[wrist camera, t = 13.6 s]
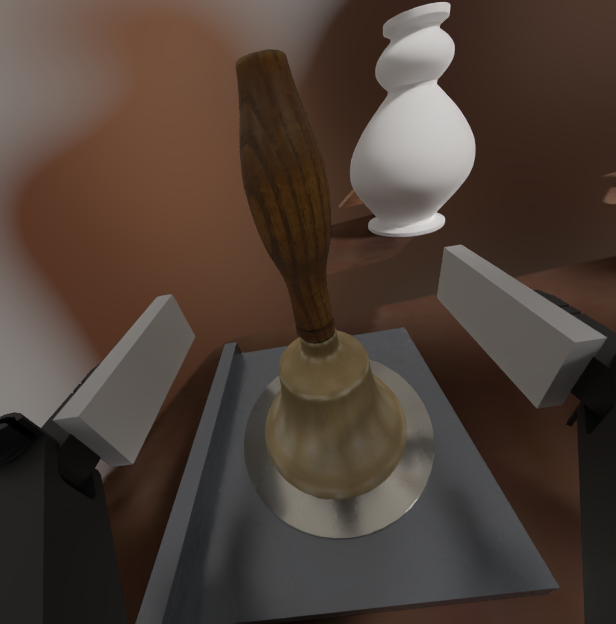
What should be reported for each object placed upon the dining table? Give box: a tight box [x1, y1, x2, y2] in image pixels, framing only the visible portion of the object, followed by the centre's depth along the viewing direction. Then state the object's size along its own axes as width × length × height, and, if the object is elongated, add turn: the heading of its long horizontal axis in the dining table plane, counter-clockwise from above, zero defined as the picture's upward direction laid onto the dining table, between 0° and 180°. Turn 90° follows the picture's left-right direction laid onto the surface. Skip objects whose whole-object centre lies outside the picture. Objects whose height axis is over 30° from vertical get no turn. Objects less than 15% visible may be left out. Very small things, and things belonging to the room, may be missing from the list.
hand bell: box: [236, 50, 407, 500], centre depth 11 cm, size 8×8×16 cm
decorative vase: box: [350, 2, 475, 237], centre depth 38 cm, size 18×18×25 cm
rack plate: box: [136, 327, 560, 624], centre depth 16 cm, size 15×15×2 cm
